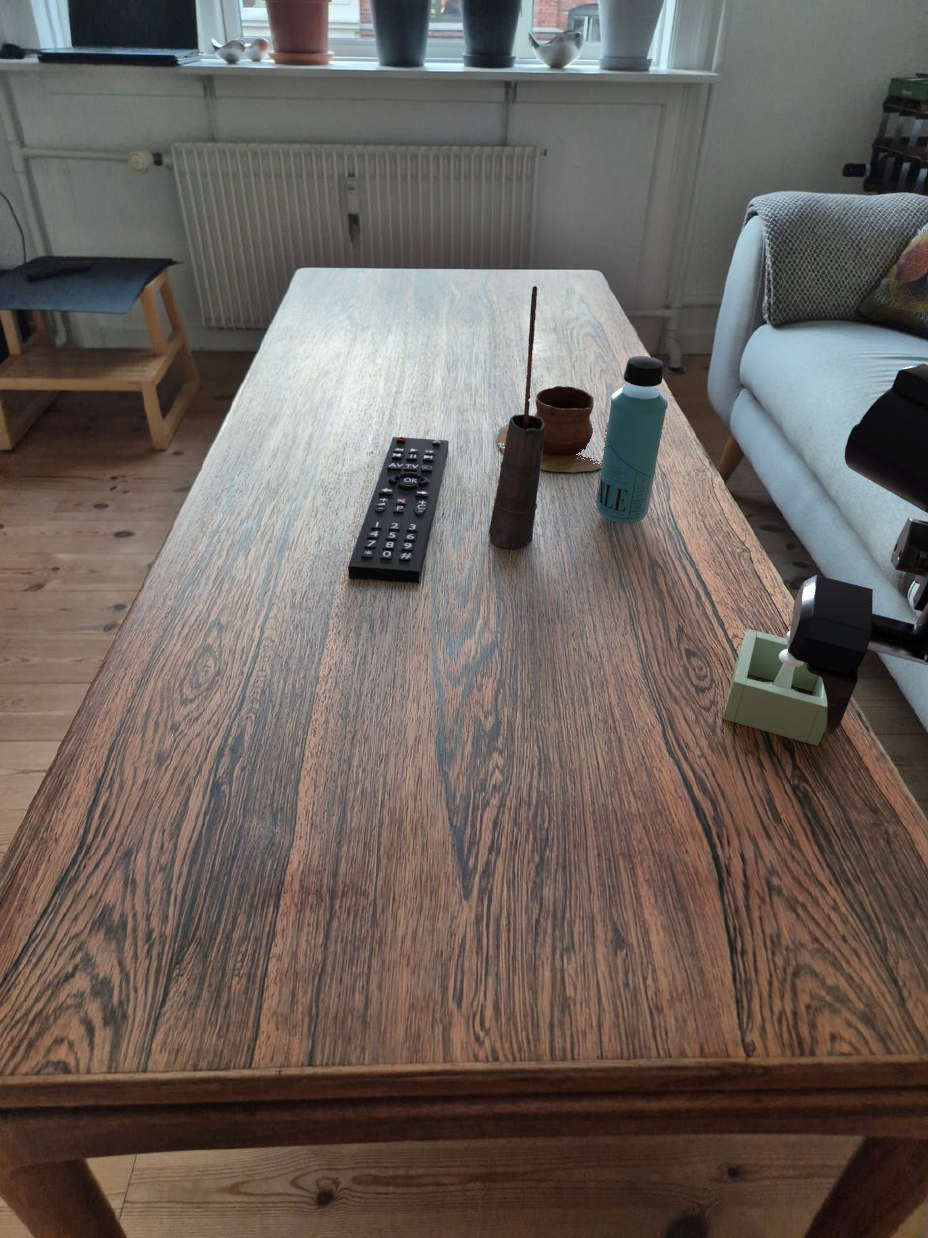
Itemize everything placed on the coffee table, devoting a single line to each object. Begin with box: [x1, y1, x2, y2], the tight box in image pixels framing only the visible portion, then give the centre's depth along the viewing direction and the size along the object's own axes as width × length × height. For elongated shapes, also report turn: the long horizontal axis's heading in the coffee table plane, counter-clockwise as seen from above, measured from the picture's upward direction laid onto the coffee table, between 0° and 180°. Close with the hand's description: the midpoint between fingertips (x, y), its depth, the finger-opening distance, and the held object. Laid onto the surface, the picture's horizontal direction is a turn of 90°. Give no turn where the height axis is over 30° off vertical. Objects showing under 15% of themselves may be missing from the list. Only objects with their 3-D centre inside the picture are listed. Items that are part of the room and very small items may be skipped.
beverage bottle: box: [595, 355, 669, 524], centre depth 96 cm, size 6×7×20 cm
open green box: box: [722, 628, 827, 747], centre depth 76 cm, size 8×8×4 cm
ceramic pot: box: [495, 385, 603, 474], centre depth 116 cm, size 18×18×7 cm
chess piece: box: [762, 630, 804, 691], centre depth 74 cm, size 5×5×10 cm
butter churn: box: [488, 285, 545, 550], centre depth 89 cm, size 9×10×28 cm
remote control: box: [347, 436, 449, 584], centre depth 102 cm, size 8×32×2 cm, turn 175°
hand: (902, 750), depth 55 cm, fingers open, 9 cm apart
